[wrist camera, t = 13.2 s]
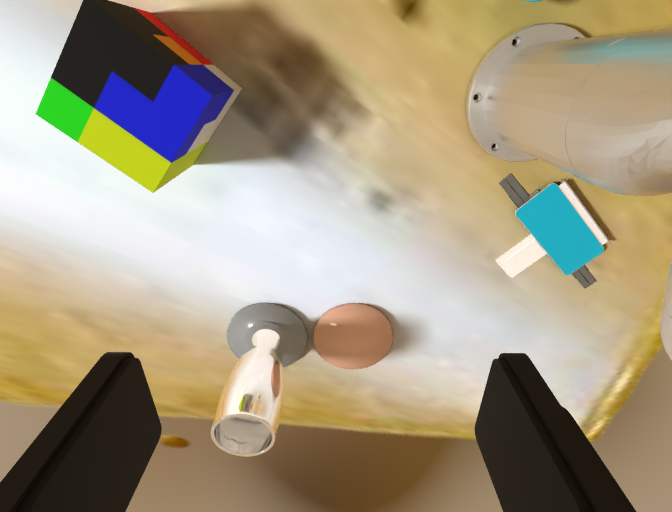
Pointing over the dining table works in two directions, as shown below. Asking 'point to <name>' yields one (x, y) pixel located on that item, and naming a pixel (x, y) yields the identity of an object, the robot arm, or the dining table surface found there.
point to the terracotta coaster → (353, 336)
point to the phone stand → (553, 231)
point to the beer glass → (253, 394)
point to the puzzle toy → (135, 93)
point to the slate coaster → (273, 315)
